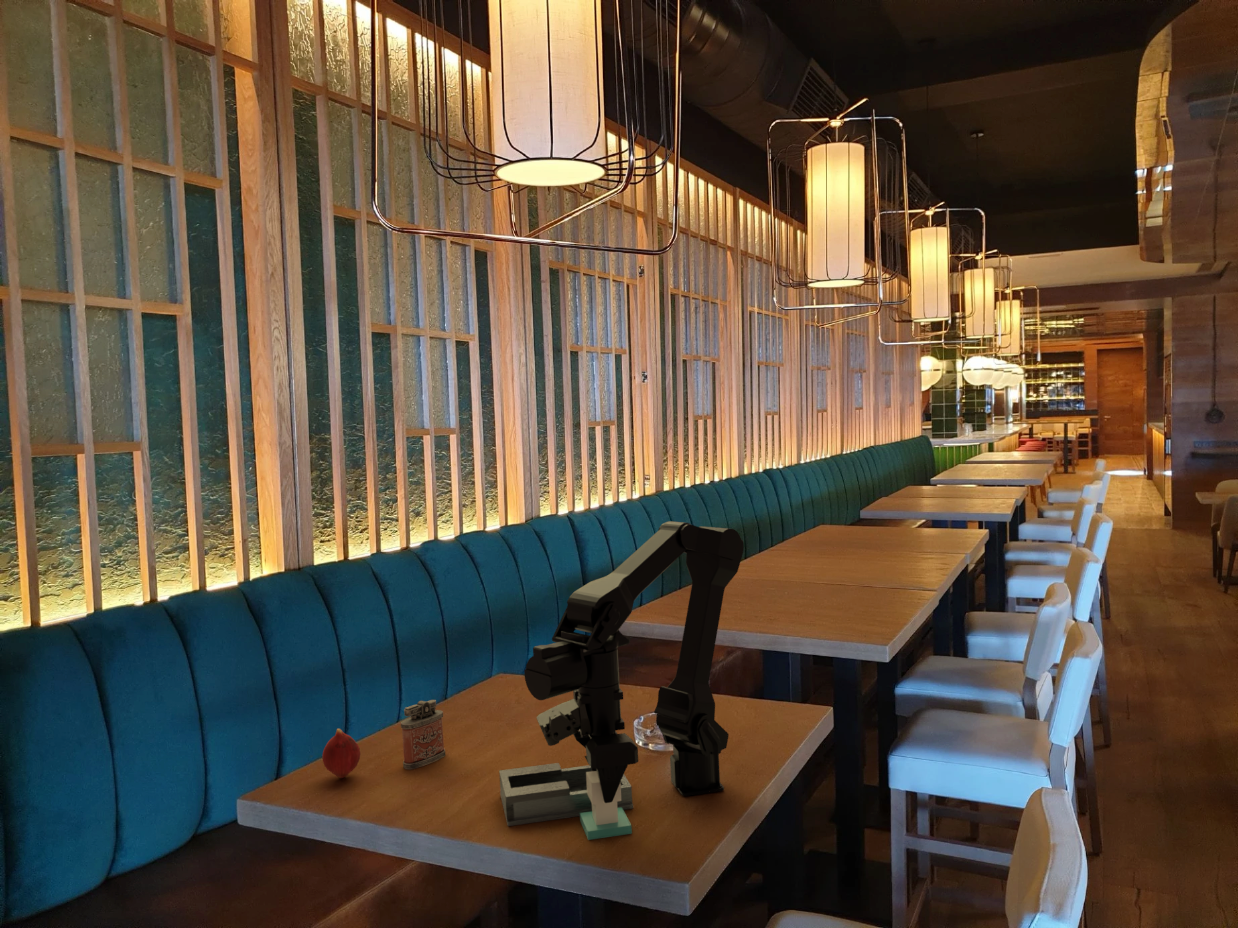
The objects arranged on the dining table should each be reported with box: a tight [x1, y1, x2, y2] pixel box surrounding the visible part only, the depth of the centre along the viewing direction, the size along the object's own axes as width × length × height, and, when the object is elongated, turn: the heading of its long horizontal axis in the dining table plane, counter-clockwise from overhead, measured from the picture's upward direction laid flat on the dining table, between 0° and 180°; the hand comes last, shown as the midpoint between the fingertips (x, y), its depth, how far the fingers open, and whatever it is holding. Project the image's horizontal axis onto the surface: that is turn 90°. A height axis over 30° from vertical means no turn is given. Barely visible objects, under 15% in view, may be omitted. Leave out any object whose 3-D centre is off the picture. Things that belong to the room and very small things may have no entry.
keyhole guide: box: [499, 762, 634, 827], centre depth 136 cm, size 18×11×4 cm, turn 102°
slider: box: [579, 771, 633, 841], centre depth 127 cm, size 6×6×7 cm
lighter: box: [400, 699, 446, 770], centre depth 155 cm, size 8×3×10 cm, turn 141°
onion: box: [321, 728, 361, 779], centre depth 149 cm, size 6×6×8 cm
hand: (603, 793), depth 127 cm, fingers open, 5 cm apart
